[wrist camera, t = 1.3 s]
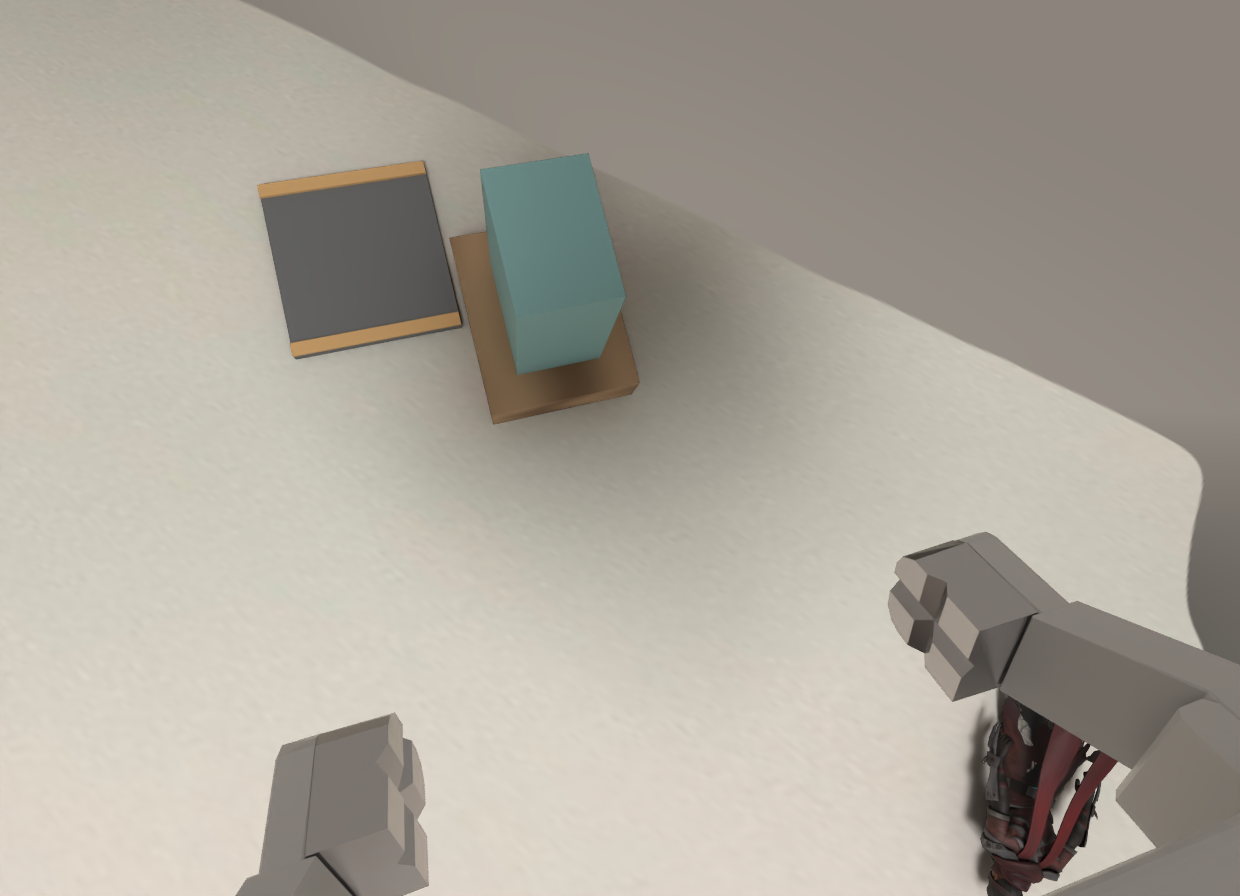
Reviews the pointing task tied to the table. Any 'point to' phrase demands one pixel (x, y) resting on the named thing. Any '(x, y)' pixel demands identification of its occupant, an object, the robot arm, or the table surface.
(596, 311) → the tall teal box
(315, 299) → the mat
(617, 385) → the block
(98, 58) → the table surface
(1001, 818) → the action figure
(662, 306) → the table surface
